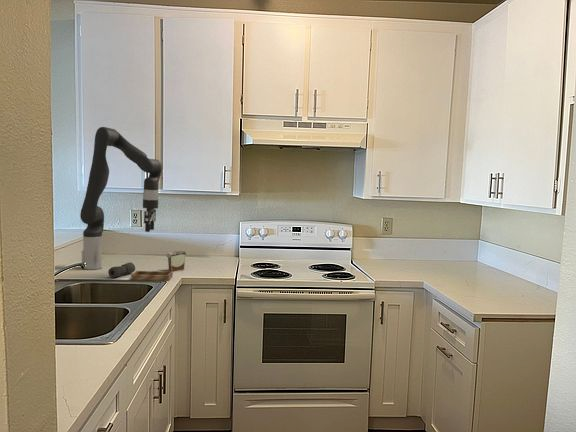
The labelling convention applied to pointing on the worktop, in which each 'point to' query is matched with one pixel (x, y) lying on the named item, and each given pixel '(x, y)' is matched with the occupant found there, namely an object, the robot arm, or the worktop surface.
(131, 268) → the flashlight
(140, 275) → the open wooden frame
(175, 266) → the food container
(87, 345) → the worktop surface
